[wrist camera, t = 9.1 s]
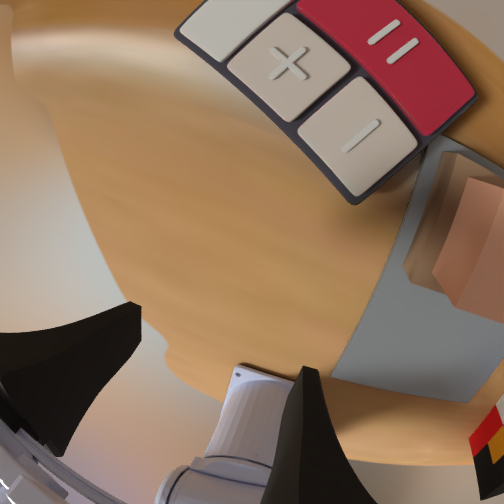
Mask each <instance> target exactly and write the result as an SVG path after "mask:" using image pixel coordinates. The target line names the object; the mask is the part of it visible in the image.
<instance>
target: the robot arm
mask: <svg viewBox="0 0 504 504" xmlns="http://www.w3.org/2000/svg"><path fill="white" fill-rule="evenodd" d="M140 342H141V306H140V305H137V304H135V303H133V302H131V301H130V302H127V303H124V304H122V305H119V306H117V307H114V308H112V309H109V310H107V311H104V312H101V313H99V314H96V315H94V316H91V317H88V318H85V319H83V320H79V321H77V322H73V323H71V324H67V325H63V326H60V327H55V328H51V329H46V330H39V331H32V332H21V333H0V482H1V483H2V484H3V486H2V487H1V488H0V504H69V503H68V502H67V501H65V498H66V497H67V496H68V492H67V491H66V490H65V489H64V488H62V487H61V486H60V485H59V484H58V483H57V482H56V481H55V480H54V479H53V478H52V477H51V476H50V475H49V474H48V473H46V472H45V471H44V470H43V469H42V468H41V467H40V466H38V462H39V463H41V464H42V465H43V466H44V467H46V468H47V469H48V470H49V471H50V472H52V473H53V474H54V475H55V476H57V477H58V478H59V479H61V480H62V481H63V482H65V483H66V484H67V485H69V486H70V487H72V488H73V489H74V490H76V491H77V492H79V493H80V494H82V495H83V496H85V497H86V498H88V499H89V500H91V501H92V502H94V503H96V504H127V503H125V502H123V501H121V500H119V499H118V498H116V497H114V496H112V495H110V494H109V493H107V492H105V491H104V490H102V489H100V488H99V487H97V486H96V485H94V484H92V483H91V482H89V481H88V480H86V479H85V478H83V477H82V476H80V475H79V474H77V473H76V472H75V471H73V470H72V469H70V468H69V467H68V466H66V465H65V464H64V463H62V462H61V461H60V460H58V459H57V458H56V457H62V456H63V455H64V453H65V450H66V448H67V446H68V444H69V442H70V440H71V438H72V436H73V434H74V432H75V430H76V428H77V426H78V425H79V423H80V421H81V420H82V418H83V416H84V415H85V413H86V411H87V410H88V408H89V407H90V405H91V404H92V402H93V401H94V399H95V398H96V396H97V395H98V393H99V392H100V391H101V390H102V388H103V387H104V386H105V385H106V384H107V383H108V382H109V381H110V379H111V378H112V377H113V376H114V375H115V374H116V373H117V372H118V370H119V369H120V368H121V367H122V366H123V365H124V364H125V363H126V361H127V360H128V359H129V358H130V357H131V355H132V354H133V352H134V351H135V349H136V348H137V346H138V345H139V343H140ZM238 373H240V374H238ZM36 441H37V442H36ZM42 446H43V447H42ZM47 450H48V451H49V452H48V451H47ZM52 454H53V455H54V456H53V455H52ZM155 504H377V503H376V502H375V501H374V499H373V498H372V497H371V496H370V495H369V493H368V492H367V490H366V489H365V488H364V486H363V485H362V483H361V482H360V481H359V479H358V477H357V475H356V474H355V473H354V471H353V469H352V467H351V466H350V464H349V462H348V460H347V458H346V456H345V454H344V452H343V450H342V448H341V446H340V443H339V441H338V439H337V436H336V434H335V431H334V428H333V425H332V423H331V420H330V417H329V413H328V410H327V406H326V403H325V399H324V395H323V391H322V386H321V382H320V376H319V372H318V370H317V369H314V368H310V367H306V366H303V367H302V369H301V371H300V373H299V375H298V377H297V379H296V381H295V382H293V381H290V380H286V379H283V378H280V377H276V376H273V375H270V374H267V373H264V372H260V371H257V370H254V369H251V368H248V367H245V366H243V365H236V366H235V368H234V371H233V374H232V378H231V381H230V385H229V388H228V392H227V395H226V398H225V402H224V406H223V409H222V412H221V416H220V420H219V423H218V425H217V427H216V429H215V432H214V434H213V436H212V438H211V440H210V443H209V445H208V447H207V449H206V451H205V454H204V456H203V458H200V457H194V459H193V461H192V463H191V465H190V466H188V465H181V466H180V467H177V468H176V469H175V470H173V471H171V472H170V473H169V474H168V475H167V476H166V478H165V479H164V480H163V482H162V484H161V485H160V488H159V490H158V492H157V495H156V499H155Z"/></svg>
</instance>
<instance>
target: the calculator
mask: <svg viewBox="0 0 504 504" xmlns="http://www.w3.org/2000/svg"><path fill="white" fill-rule="evenodd" d="M174 36H175V38H176V39H178V40H179V41H180V42H181V43H183V44H184V45H185V46H187V47H188V48H189V49H191V50H192V51H193V52H194V53H196V54H197V55H198V56H199V57H201V58H202V59H203V60H204V61H206V62H207V63H208V64H209V65H211V66H212V67H213V68H214V69H215V70H217V71H218V72H219V73H220V74H221V75H223V76H224V77H225V78H226V79H227V80H228V81H230V82H231V83H232V84H233V85H234V86H235V87H236V88H238V89H239V90H240V91H241V92H242V93H243V94H244V95H245V96H246V97H248V98H249V99H250V100H251V101H252V102H253V103H254V104H255V105H256V106H257V107H258V108H259V109H261V110H262V111H263V112H264V113H265V114H266V115H267V116H268V117H269V118H270V119H271V120H272V121H273V122H274V123H275V124H276V125H277V126H278V127H279V128H280V129H281V130H282V131H283V132H284V133H285V134H286V135H287V136H288V137H289V138H290V139H291V140H292V141H293V142H294V143H295V144H296V145H297V146H298V147H299V148H300V149H301V150H302V151H303V152H304V153H305V154H306V156H307V157H308V158H309V159H310V160H311V161H312V162H313V163H314V164H315V165H316V166H317V167H318V168H319V170H320V171H321V172H322V173H323V174H324V175H325V176H326V177H327V178H328V180H329V181H330V182H331V183H332V184H333V185H334V186H335V188H336V189H337V190H338V191H339V192H340V193H341V194H342V196H343V197H344V198H345V199H346V200H347V201H348V202H349V203H350V204H352V205H358V204H360V203H361V202H362V201H363V200H365V199H366V198H367V197H368V196H369V195H371V194H372V193H373V192H374V191H375V190H377V189H378V188H379V187H380V186H381V185H382V184H384V183H385V182H386V181H387V180H388V179H389V178H391V177H392V176H393V175H394V174H395V173H397V172H398V171H399V170H400V169H401V168H402V167H403V166H405V165H406V164H407V163H408V162H409V161H410V160H412V159H413V158H414V157H415V156H416V155H417V154H418V153H420V152H421V151H422V150H423V149H424V148H425V147H426V146H428V145H429V144H430V143H431V142H432V141H433V140H434V139H435V138H437V137H438V136H439V135H440V134H441V133H442V132H443V131H444V130H445V129H447V128H448V127H449V126H450V125H451V124H452V123H453V122H454V121H455V120H457V119H458V118H459V117H460V116H461V115H462V114H463V113H464V112H465V111H466V110H467V109H469V108H470V107H471V106H472V105H473V104H474V103H475V102H476V101H477V100H478V93H477V91H476V89H475V88H474V87H473V85H472V84H471V82H470V81H469V79H468V78H467V77H466V75H465V74H464V73H463V71H462V70H461V69H460V67H459V66H458V65H457V64H456V62H455V61H454V60H453V59H452V57H451V56H450V55H449V54H448V52H447V51H446V50H445V49H444V48H443V47H442V45H441V44H440V43H439V42H438V41H437V40H436V39H435V37H434V36H433V35H432V34H431V33H430V32H429V31H428V30H427V29H426V28H425V27H424V26H423V25H422V24H421V23H420V22H419V21H418V20H417V19H416V18H415V17H414V16H413V15H412V14H411V13H410V12H409V11H408V10H407V9H406V8H405V7H404V6H403V5H402V4H400V3H399V2H398V1H397V0H204V1H203V2H202V3H201V4H200V5H199V6H198V7H197V8H196V9H195V10H194V11H193V12H192V13H191V14H190V15H189V16H188V17H187V18H186V19H185V20H184V21H183V22H182V23H181V24H180V25H179V26H178V27H177V28H176V30H175V31H174Z"/></svg>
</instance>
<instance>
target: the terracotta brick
mask: <svg viewBox="0 0 504 504" xmlns="http://www.w3.org/2000/svg"><path fill="white" fill-rule="evenodd" d="M432 274H433V275H434V277H435V278H436V280H437V281H438V283H439V284H440V286H441V287H442V289H443V290H444V292H445V293H446V295H447V296H448V298H449V299H450V301H451V303H452V304H453V306H454V307H455V308H458V309H461V310H464V311H467V312H470V313H472V314H475V315H478V316H481V317H484V318H487V319H490V320H493V321H496V322H499V323H502V324H504V189H503V188H500V187H497V186H494V185H491V184H489V183H486V182H483V181H479V180H476V179H473V178H470V177H468V179H467V182H466V186H465V189H464V192H463V195H462V198H461V201H460V204H459V207H458V210H457V212H456V215H455V218H454V221H453V223H452V226H451V229H450V231H449V234H448V236H447V239H446V241H445V244H444V246H443V248H442V251H441V253H440V255H439V258H438V260H437V262H436V264H435V266H434V269H433V271H432Z"/></svg>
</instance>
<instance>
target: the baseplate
mask: <svg viewBox="0 0 504 504" xmlns="http://www.w3.org/2000/svg"><path fill="white" fill-rule="evenodd" d="M442 152H451V153H458V154H460V155H462V156H464V157H466V158H468V159H470V160H471V161H473V162H475V163H477V164H479V165H480V166H482V167H484V168H486V169H487V170H489V171H491V172H492V173H494V174H496V175H497V176H499V177H501V178H502V179H504V170H503V169H502V168H500V167H499V166H497V165H496V164H494V163H492V162H491V161H489V160H487V159H486V158H484V157H482V156H480V155H479V154H477V153H475V152H473V151H471V150H470V149H468V148H466V147H464V146H462V145H460V144H458V143H456V142H455V141H453V140H451V139H449V138H447V137H444V136H442V135H439V136H438V137H437V138H435V139H434V140H433V141H432V142H431V143H430V144H429V145H428V146H426V148H425V151H424V155H423V159H422V162H421V166H420V169H419V173H418V176H417V179H416V182H415V186H414V189H413V192H412V195H411V198H410V201H409V204H408V207H407V210H406V213H405V215H404V218H403V221H402V224H401V226H400V229H399V232H398V234H397V237H396V240H395V242H394V245H393V247H392V250H391V252H390V255H389V257H388V259H387V262H386V264H385V267H384V269H383V271H382V274H381V276H380V278H379V280H378V283H377V285H376V287H375V289H374V291H373V294H372V296H371V298H370V300H369V302H368V304H367V306H366V308H365V310H364V313H363V315H362V317H361V319H360V321H359V323H358V325H357V326H356V328H355V330H354V332H353V334H352V336H351V338H350V340H349V342H348V344H347V346H346V347H345V349H344V351H343V353H342V355H341V356H340V358H339V360H338V362H337V364H336V365H335V367H334V369H333V370H332V372H331V377H332V378H336V379H340V380H344V381H348V382H352V383H356V384H361V385H365V386H370V387H374V388H379V389H384V390H388V391H393V392H399V393H404V394H409V395H415V396H421V397H427V398H433V399H440V400H447V401H455V402H463V403H468V402H469V401H470V400H471V399H472V397H473V396H474V395H475V394H476V393H477V392H478V390H479V389H480V388H481V387H482V385H483V384H484V383H485V382H486V381H487V379H488V378H489V377H490V375H491V374H492V373H493V371H494V370H495V369H496V367H497V366H498V365H499V363H500V362H501V361H502V359H503V358H504V324H502V323H499V322H496V321H493V320H490V319H487V318H484V317H481V316H478V315H475V314H472V313H470V312H467V311H464V310H461V309H458V308H455V307H454V306H453V304H452V303H451V301H450V299H449V298H448V296H447V295H445V294H442V293H439V292H436V291H433V290H430V289H428V288H425V287H422V286H419V285H416V284H413V283H411V282H410V280H409V279H408V277H407V275H406V273H405V271H404V269H403V267H402V265H403V262H404V260H405V258H406V255H407V253H408V251H409V248H410V246H411V243H412V241H413V238H414V236H415V233H416V230H417V228H418V225H419V222H420V220H421V217H422V214H423V211H424V208H425V206H426V203H427V200H428V197H429V194H430V191H431V187H432V184H433V181H434V178H435V174H436V171H437V168H438V164H439V160H440V157H441V153H442Z"/></svg>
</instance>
